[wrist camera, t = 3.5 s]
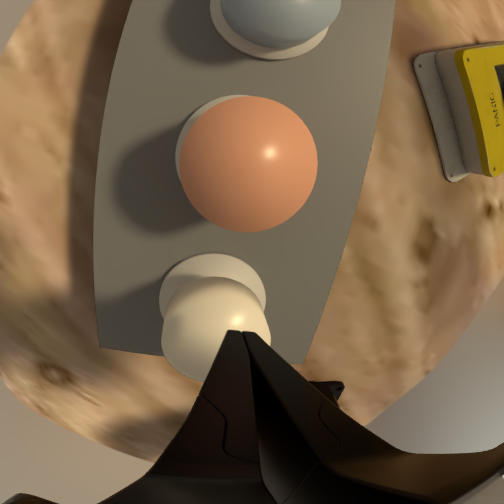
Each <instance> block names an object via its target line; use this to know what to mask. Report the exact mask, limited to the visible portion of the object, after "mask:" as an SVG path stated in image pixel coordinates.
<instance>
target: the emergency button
mask: <svg viewBox="0 0 504 504" xmlns="http://www.w3.org/2000/svg"><path fill="white" fill-rule="evenodd" d="M413 65H414V71H415V73H416V76H417V79H418V82H419V84H420V87H421V90H422V93H423V96H424V99H425V102H426V105H427V108H428V111H429V115H430V118H431V121H432V125H433V128H434V132H435V136H436V140H437V144H438V148H439V152H440V156H441V160H442V165H443V170H444V174H445V176H446V178H447V180H449V181H451V182H456V181H459V180H461V179H462V178H464V177H466V176H467V175H469V174H471V173H475V174H481V175H485V176H489V177H497V176H498V175H500V174H501V173H503V172H504V41H500V42H490V43H482V44H475V45H468V46H461V47H455V48H450V49H444V50H439V51H434V52H429V53H425V54H420V55H419V56H417V57H416V58H415V60H414V63H413Z"/></svg>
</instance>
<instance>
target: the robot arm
mask: <svg viewBox="0 0 504 504" xmlns="http://www.w3.org/2000/svg"><path fill="white" fill-rule="evenodd" d="M344 388H345V386H344V384H343V382H323V383H309V382H308V381H307V380H306V379H305V378H304V377H303V376H302V375H301V374H299V373H298V372H297V371H296V370H295V369H294V368H293V367H292V366H291V365H290V364H289V363H287V362H286V361H285V360H284V359H283V358H282V357H281V356H280V355H279V354H278V353H277V352H276V351H275V350H273V349H272V348H271V347H270V346H269V345H268V344H267V343H266V342H265V341H264V340H263V339H262V338H261V337H260V336H259V335H258V334H257V333H255V332H251V331H242V332H241V331H239V330H227V332H226V334H225V336H224V339H223V341H222V343H221V345H220V348H219V350H218V352H217V354H216V357H215V359H214V361H213V363H212V366H211V368H210V370H209V372H208V375H207V377H206V379H205V381H204V384H203V386H202V388H201V390H200V392H199V395H198V397H197V399H196V401H195V403H194V405H193V407H192V409H191V411H190V413H189V415H188V417H187V419H186V420H185V422H184V423H183V425H182V426H181V428H180V430H179V431H178V432H177V434H176V435H175V437H174V438H173V439H172V441H171V442H170V444H169V445H168V446H167V448H166V449H165V450H164V452H163V453H162V455H161V456H160V457H159V459H158V460H157V461H156V462H155V464H154V465H153V466H152V467H151V469H150V470H149V471H148V472H147V473H146V474H145V475H144V476H142V477H141V478H140V479H138V480H137V481H135V482H134V483H132V484H130V485H129V486H127V487H125V488H124V489H122V490H120V491H119V492H117V493H115V494H114V495H112V496H110V497H108V498H107V499H105V500H103V501H101V502H100V503H98V504H504V479H503V478H502V475H503V474H504V443H502V444H500V445H499V446H497V447H496V448H493V449H491V450H488V451H483V452H475V453H458V454H416V453H409V452H405V451H402V450H400V449H397V448H395V447H394V446H392V445H390V444H389V443H387V442H386V441H384V440H383V439H381V438H380V437H378V436H377V435H375V434H373V433H372V432H371V431H369V430H368V429H366V428H365V427H363V426H362V425H360V424H359V423H358V422H356V421H355V420H353V419H352V418H351V417H349V416H348V415H347V414H345V413H344V412H343V411H342V410H341V409H340V407H339V405H338V403H337V400H338V399H339V397H340V395H341V393H342V392H343V390H344ZM2 504H58V503H55V502H52V501H49V500H46V499H43V498H40V497H37V496H34V495H30V494H23V493H19V494H15V495H14V496H12V497H11V498H10V499H8V500H7V501H5V502H4V503H2Z"/></svg>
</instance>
